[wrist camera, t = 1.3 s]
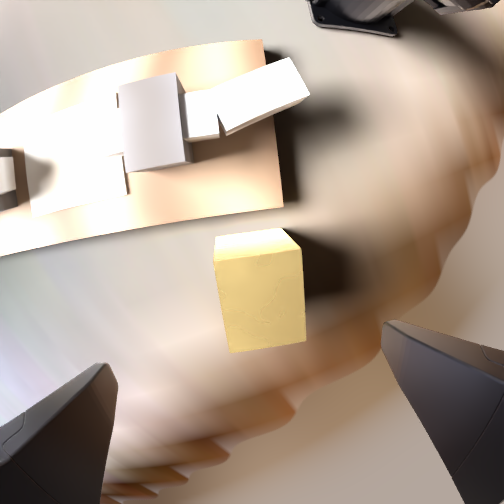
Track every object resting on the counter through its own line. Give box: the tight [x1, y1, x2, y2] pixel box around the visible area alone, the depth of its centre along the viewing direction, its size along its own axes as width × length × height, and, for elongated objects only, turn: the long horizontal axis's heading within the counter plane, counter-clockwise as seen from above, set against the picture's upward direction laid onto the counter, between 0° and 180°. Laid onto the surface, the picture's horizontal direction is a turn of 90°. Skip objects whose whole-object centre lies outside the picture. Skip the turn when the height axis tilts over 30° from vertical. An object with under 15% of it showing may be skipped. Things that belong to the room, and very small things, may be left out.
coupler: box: [213, 228, 306, 353], centre depth 16 cm, size 4×5×5 cm
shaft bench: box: [0, 39, 310, 256], centre depth 13 cm, size 26×10×5 cm, turn 97°
